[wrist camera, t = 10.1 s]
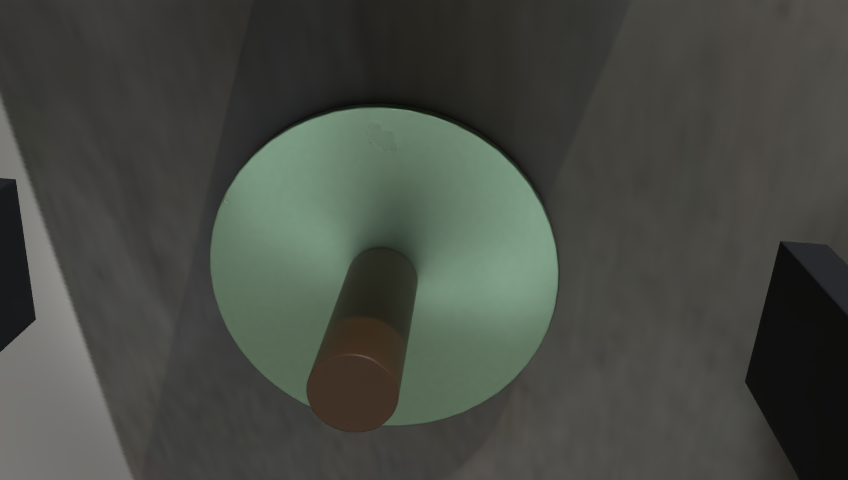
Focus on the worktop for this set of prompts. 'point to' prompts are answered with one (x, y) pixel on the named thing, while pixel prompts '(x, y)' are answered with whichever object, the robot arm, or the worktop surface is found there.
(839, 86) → the worktop surface
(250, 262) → the tin lid
